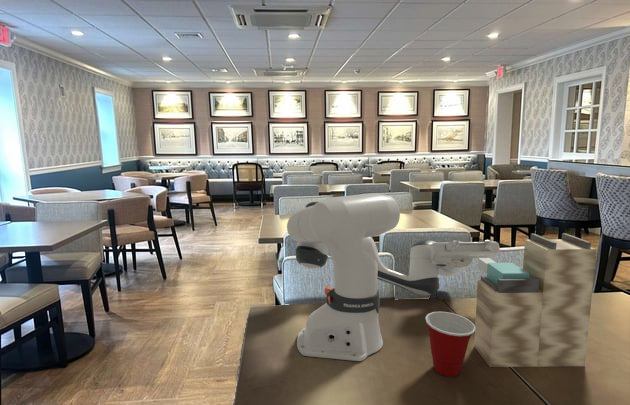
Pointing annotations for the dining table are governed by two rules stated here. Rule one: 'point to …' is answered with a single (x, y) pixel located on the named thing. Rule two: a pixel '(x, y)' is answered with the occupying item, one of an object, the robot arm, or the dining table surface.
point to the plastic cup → (448, 341)
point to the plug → (501, 270)
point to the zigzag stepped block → (539, 307)
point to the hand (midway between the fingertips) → (472, 242)
